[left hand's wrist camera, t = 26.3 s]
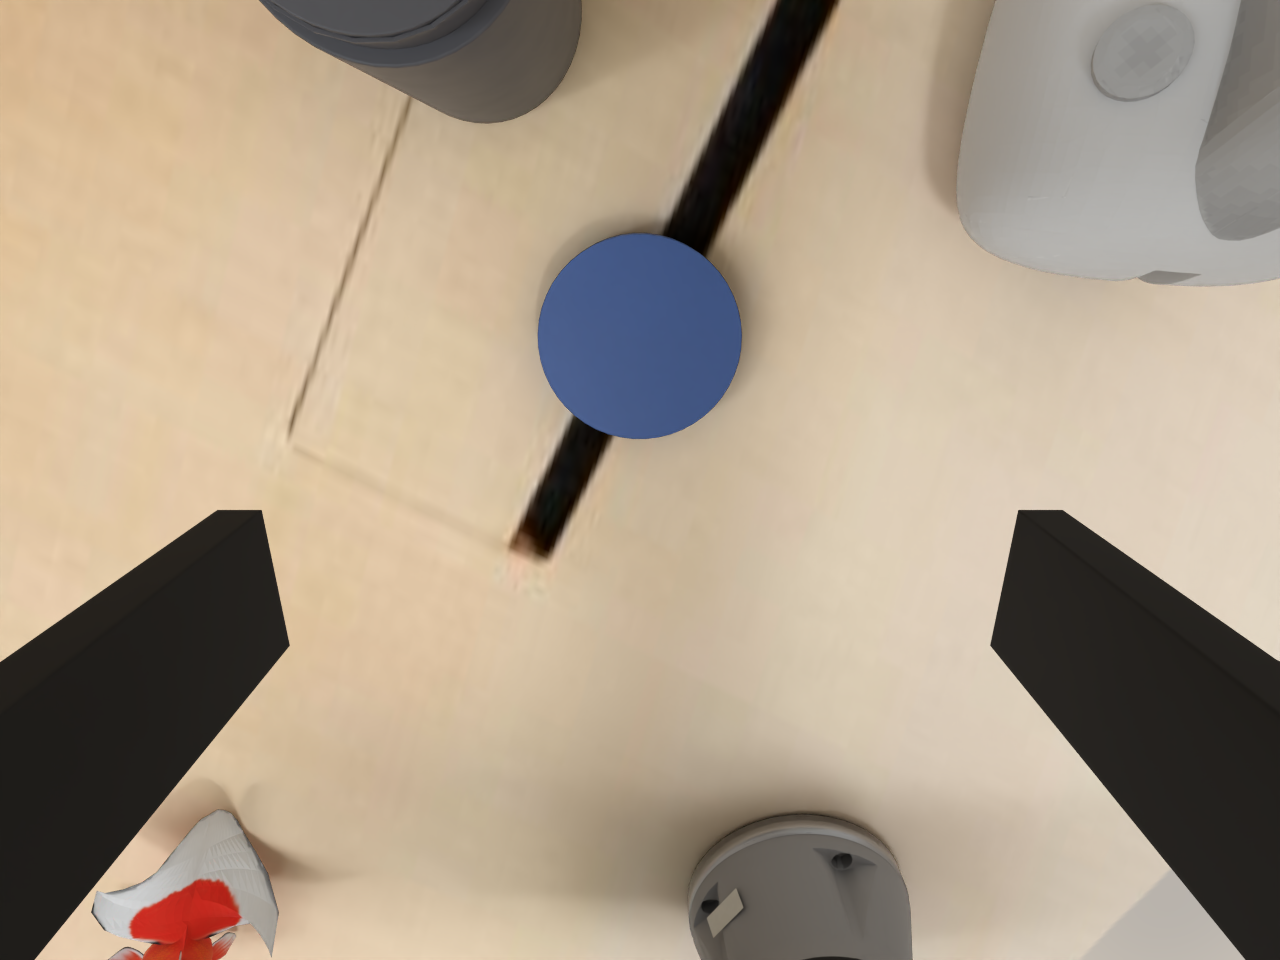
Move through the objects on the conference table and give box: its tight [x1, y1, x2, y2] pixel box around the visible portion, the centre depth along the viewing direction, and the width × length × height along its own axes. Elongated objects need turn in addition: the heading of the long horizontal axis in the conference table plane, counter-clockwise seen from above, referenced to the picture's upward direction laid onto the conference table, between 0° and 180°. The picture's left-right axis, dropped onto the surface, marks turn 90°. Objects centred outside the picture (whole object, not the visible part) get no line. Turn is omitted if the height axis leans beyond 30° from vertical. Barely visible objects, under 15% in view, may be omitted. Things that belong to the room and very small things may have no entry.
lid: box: [538, 233, 742, 439], centre depth 36 cm, size 10×10×2 cm
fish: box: [91, 810, 279, 960], centre depth 46 cm, size 11×16×10 cm
